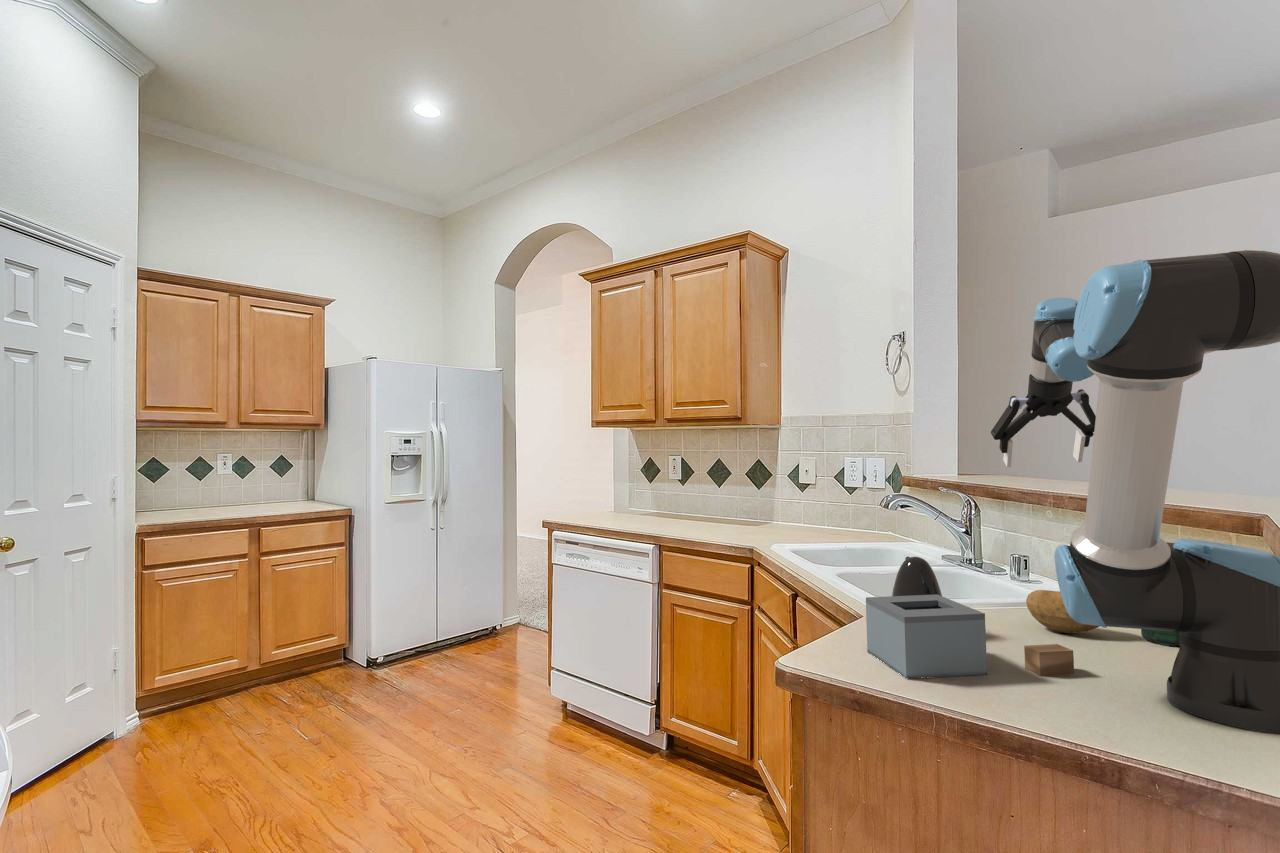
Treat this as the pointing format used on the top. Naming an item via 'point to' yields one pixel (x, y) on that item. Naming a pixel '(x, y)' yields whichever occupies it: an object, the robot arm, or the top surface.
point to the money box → (926, 636)
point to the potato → (1053, 612)
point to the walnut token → (1049, 660)
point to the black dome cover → (915, 579)
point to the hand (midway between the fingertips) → (1041, 461)
